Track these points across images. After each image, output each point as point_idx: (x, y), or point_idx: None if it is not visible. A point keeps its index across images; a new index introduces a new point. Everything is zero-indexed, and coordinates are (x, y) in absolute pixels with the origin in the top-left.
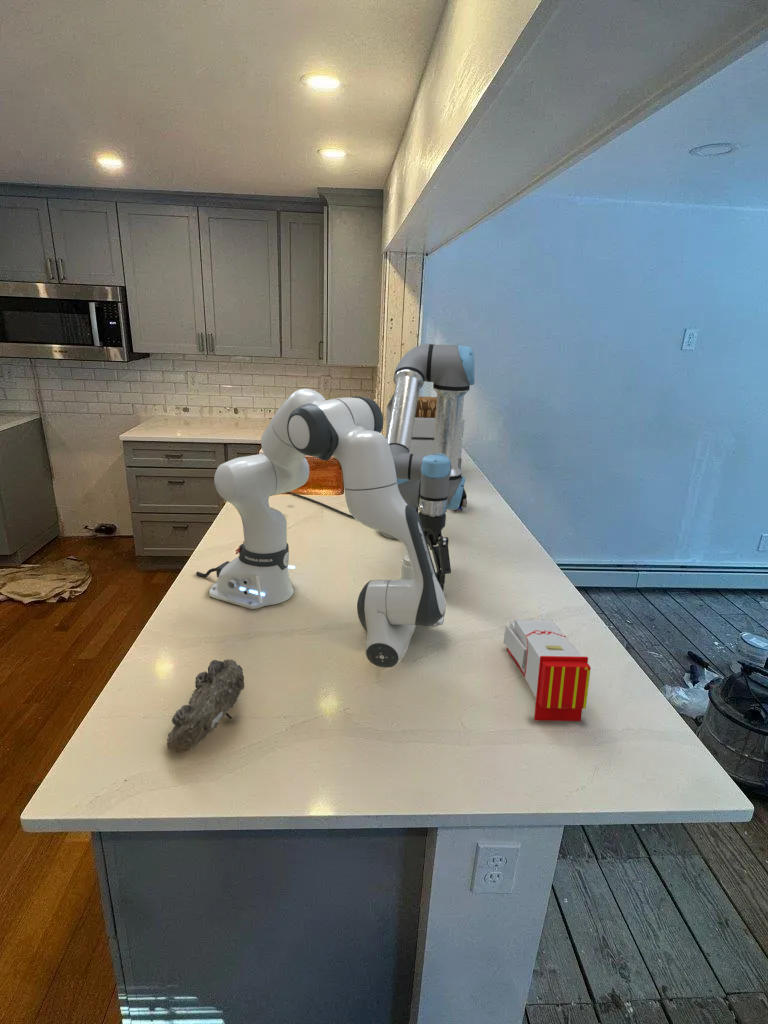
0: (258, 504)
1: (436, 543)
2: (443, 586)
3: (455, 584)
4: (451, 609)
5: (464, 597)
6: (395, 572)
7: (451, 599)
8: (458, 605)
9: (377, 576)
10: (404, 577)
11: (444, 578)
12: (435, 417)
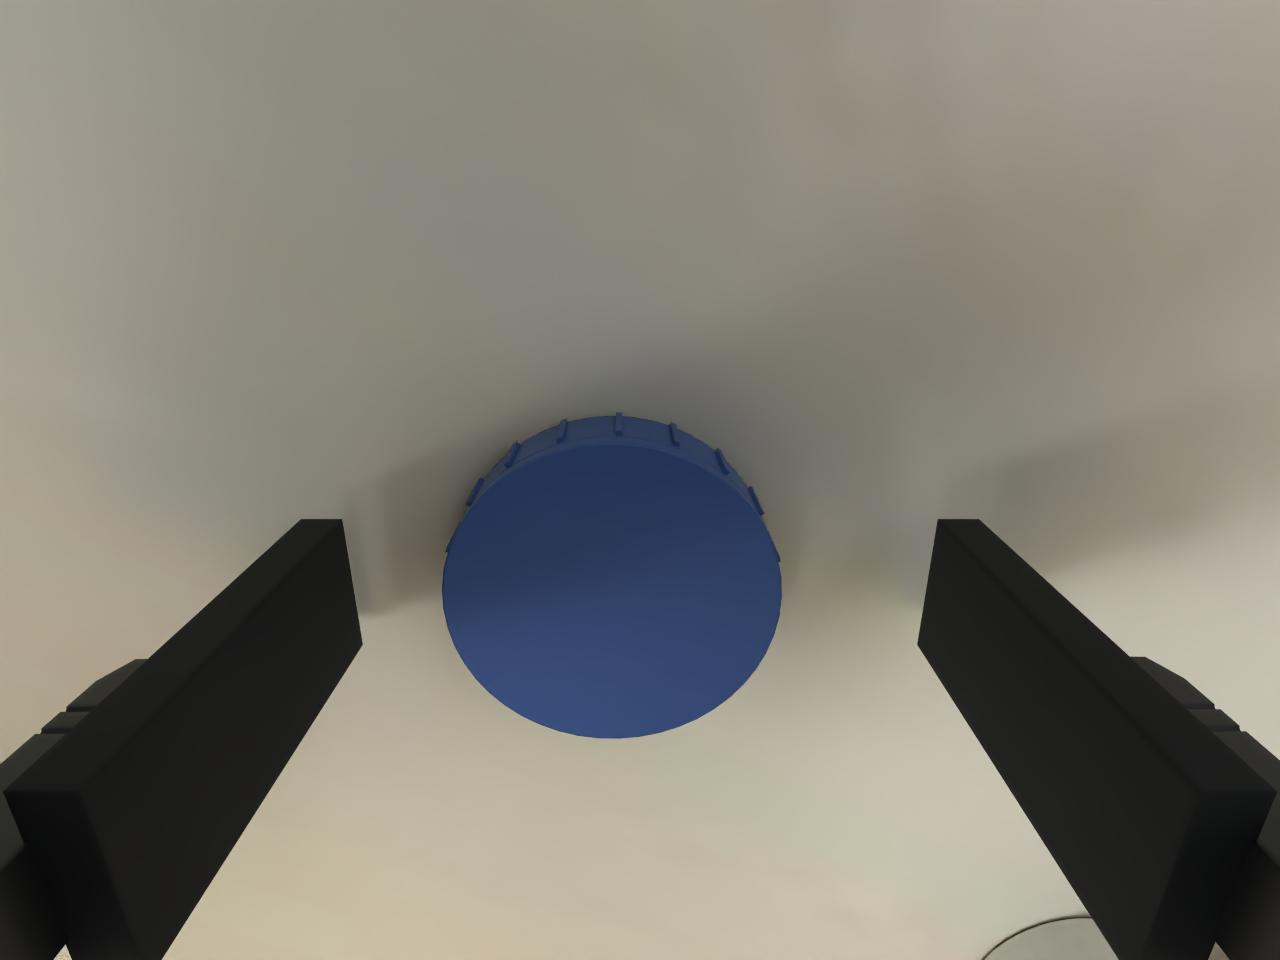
0: None
1: None
2: (1041, 582)
3: (723, 52)
4: (1265, 572)
5: (1162, 203)
6: (64, 707)
7: (1080, 429)
8: (1262, 435)
9: None
10: None
11: (1259, 759)
12: None
